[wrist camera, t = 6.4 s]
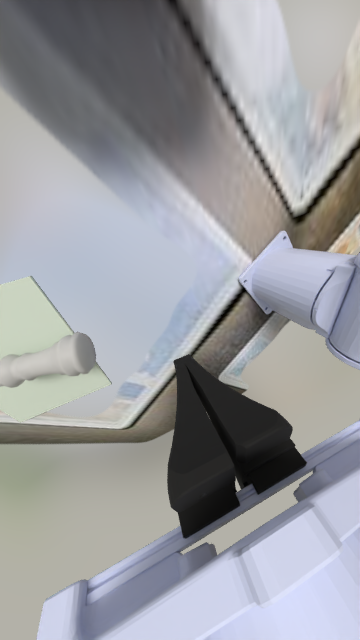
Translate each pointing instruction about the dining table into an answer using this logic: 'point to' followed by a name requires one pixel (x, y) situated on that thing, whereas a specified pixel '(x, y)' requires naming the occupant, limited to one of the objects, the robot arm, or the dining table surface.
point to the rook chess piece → (50, 361)
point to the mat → (33, 336)
